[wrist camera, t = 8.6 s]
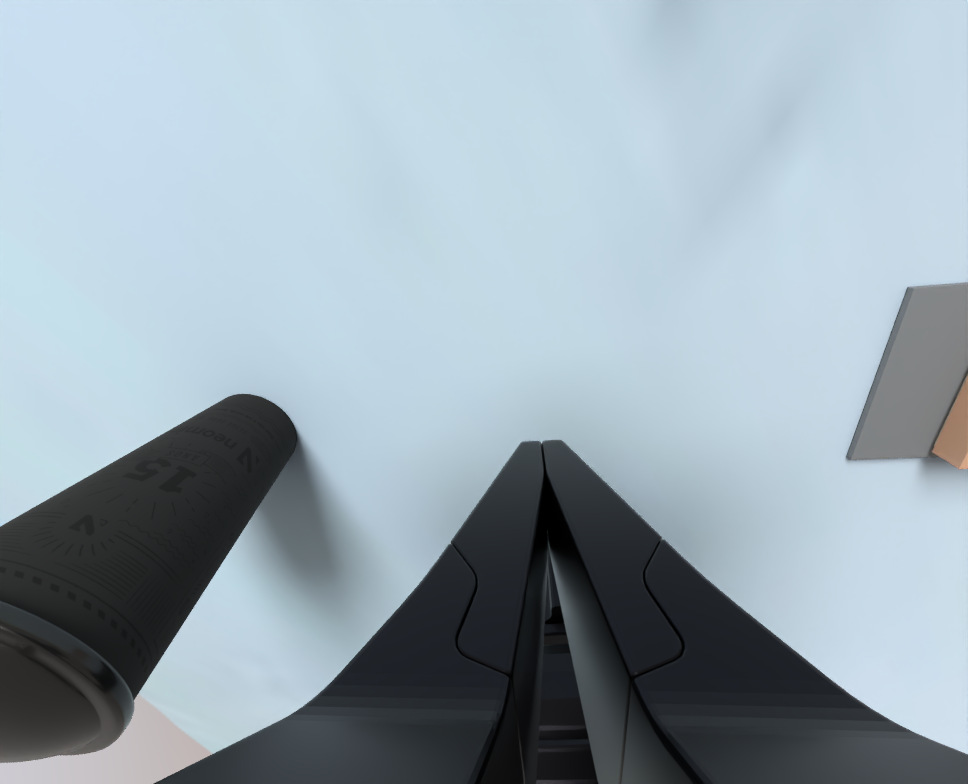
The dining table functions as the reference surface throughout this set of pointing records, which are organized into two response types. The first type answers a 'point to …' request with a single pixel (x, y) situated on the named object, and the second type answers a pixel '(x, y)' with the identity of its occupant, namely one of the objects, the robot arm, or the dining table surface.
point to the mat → (916, 376)
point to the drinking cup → (123, 573)
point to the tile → (955, 432)
